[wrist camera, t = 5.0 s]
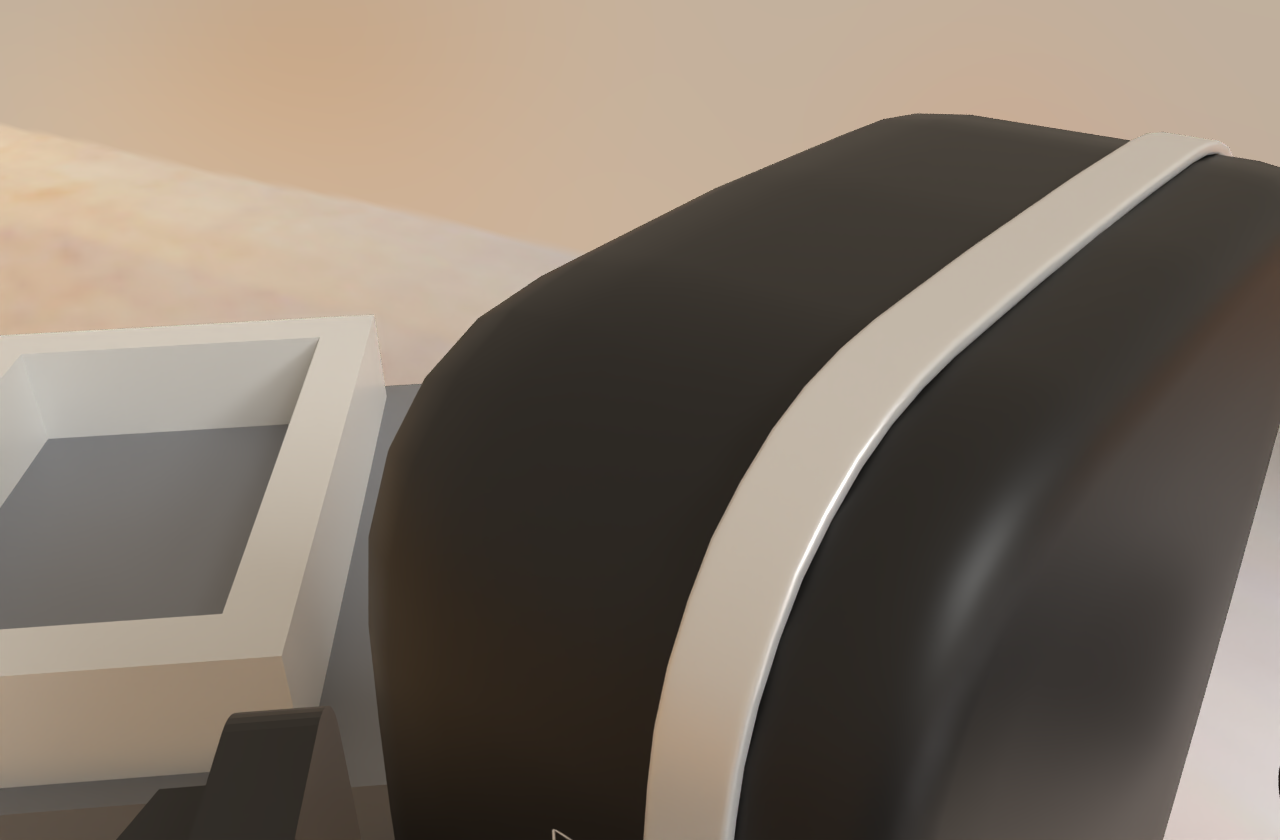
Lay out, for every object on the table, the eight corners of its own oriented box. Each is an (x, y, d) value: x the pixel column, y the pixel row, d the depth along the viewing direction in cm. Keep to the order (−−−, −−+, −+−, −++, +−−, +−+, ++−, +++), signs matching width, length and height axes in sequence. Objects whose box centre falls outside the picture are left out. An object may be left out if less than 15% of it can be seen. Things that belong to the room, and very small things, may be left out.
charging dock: (568, 420, 28) (560, 294, 26) (593, 827, 17) (582, 659, 16) (-142, 464, 27) (-195, 336, 25) (-570, 923, 16) (-707, 753, 15)
